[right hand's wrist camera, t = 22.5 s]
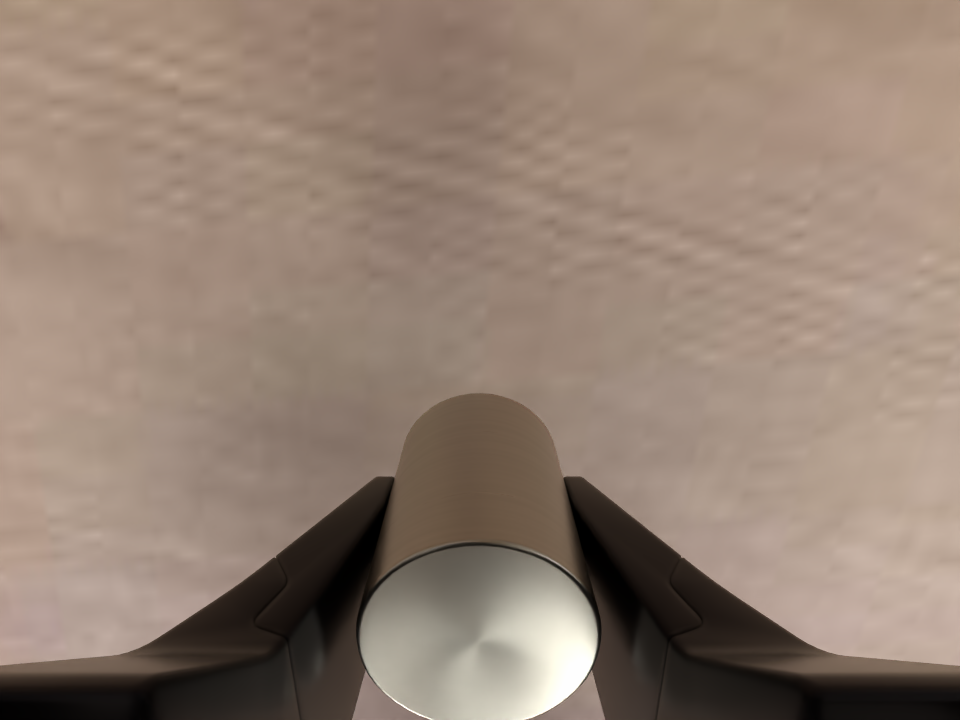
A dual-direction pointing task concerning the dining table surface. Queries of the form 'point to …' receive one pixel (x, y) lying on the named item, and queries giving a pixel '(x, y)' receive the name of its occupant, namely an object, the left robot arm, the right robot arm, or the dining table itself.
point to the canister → (478, 571)
